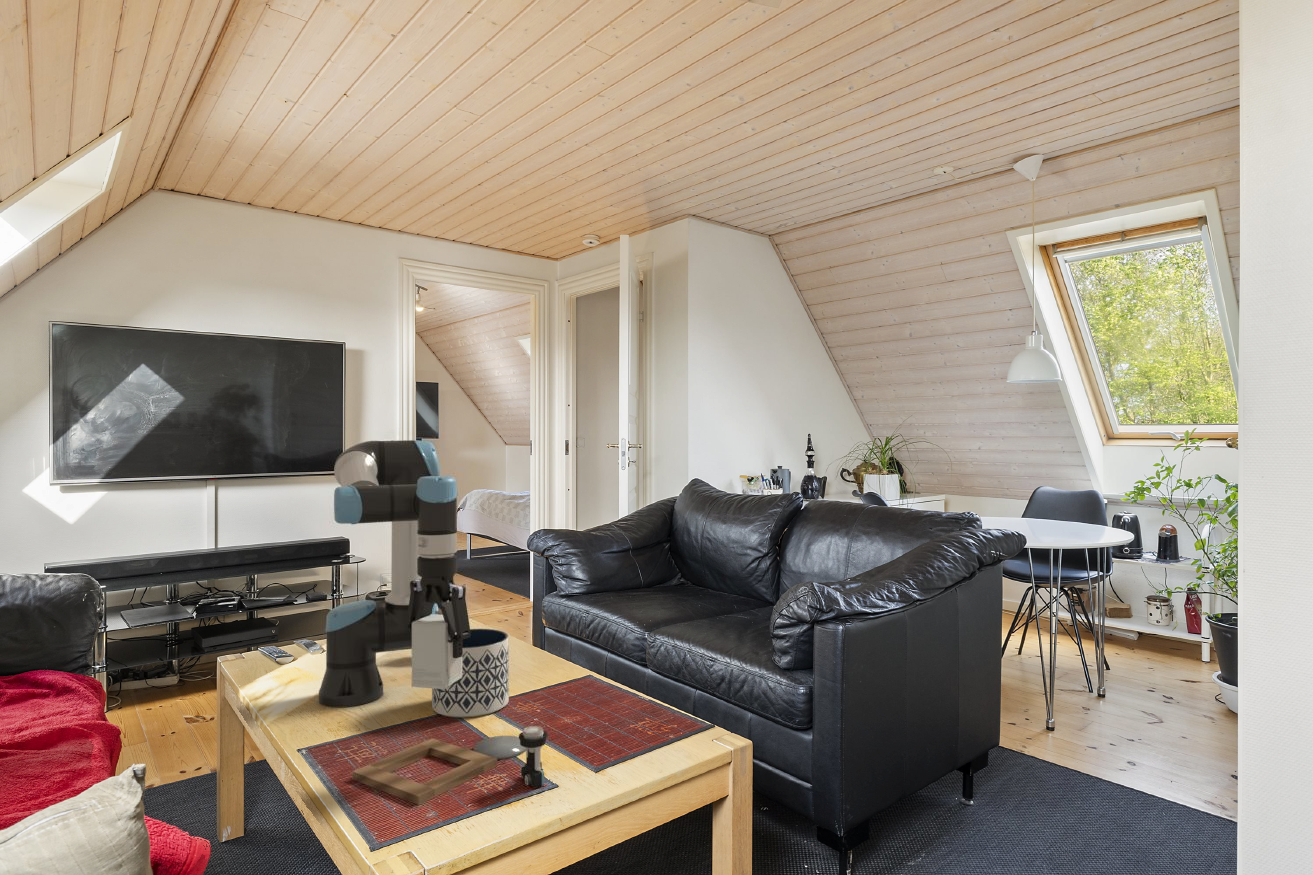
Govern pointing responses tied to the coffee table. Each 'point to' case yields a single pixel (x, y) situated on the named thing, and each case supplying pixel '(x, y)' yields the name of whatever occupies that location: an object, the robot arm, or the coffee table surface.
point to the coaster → (500, 747)
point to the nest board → (420, 793)
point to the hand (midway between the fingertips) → (437, 669)
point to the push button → (533, 755)
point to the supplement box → (431, 653)
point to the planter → (478, 677)
